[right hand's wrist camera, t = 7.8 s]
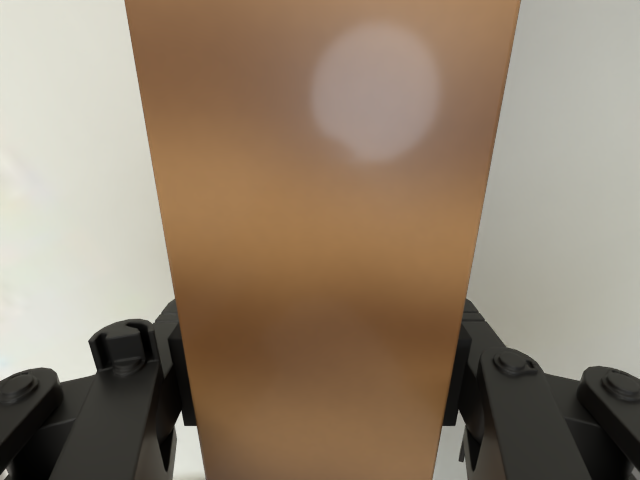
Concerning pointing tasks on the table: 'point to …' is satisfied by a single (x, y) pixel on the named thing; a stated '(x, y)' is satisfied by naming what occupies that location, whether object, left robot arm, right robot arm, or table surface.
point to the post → (321, 218)
